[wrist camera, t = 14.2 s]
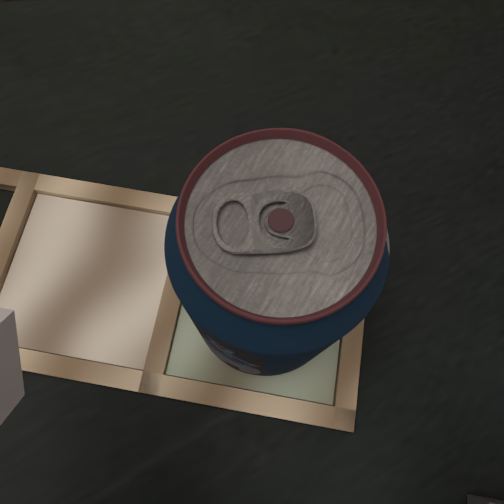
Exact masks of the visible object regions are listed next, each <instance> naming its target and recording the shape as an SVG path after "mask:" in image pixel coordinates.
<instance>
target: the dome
mask: <svg viewBox="0 0 504 504" xmlns="http://www.w3.org/2000/svg"><path fill="white" fill-rule="evenodd" d="M467 504H504V501H503V500H498V499H493V498H487V497H482V496H477V495H472V494H467Z"/></svg>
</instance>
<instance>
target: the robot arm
mask: <svg viewBox="0 0 504 504" xmlns="http://www.w3.org/2000/svg"><path fill="white" fill-rule="evenodd" d="M24 395H25V393H24V385H23V377H22V369H21V361H20V353H19V345H18V336H17V328H16V320H15V312H14V310H11V309H5V308H0V425H1V424H2V423H3V421H4V420H5V419H6V418H7V416H8V415H9V414H10V413H11V411H12V410H13V409H14V408H15V406H16V405H17V404H18V402H19V401H20V400H21V399H22V397H23V396H24Z"/></svg>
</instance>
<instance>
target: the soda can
mask: <svg viewBox="0 0 504 504" xmlns="http://www.w3.org/2000/svg"><path fill="white" fill-rule="evenodd" d="M164 253H165V263H166V268H167V272H168V276H169V279H170V282H171V284H172V287H173V289H174V291H175V293H176V295H177V297H178V299H179V300H180V302H181V304H182V305H183V307H184V309H185V310H186V312H187V313H188V315H189V317H190V318H191V320H192V322H193V323H194V325H195V326H196V328H197V330H198V331H199V333H200V335H201V336H202V338H203V339H204V341H205V343H206V344H207V346H208V347H209V348H210V350H211V351H212V352H213V353H214V354H215V355H216V356H217V357H218V358H219V359H220V360H222V361H223V362H224V363H226V364H227V365H229V366H230V367H232V368H234V369H236V370H239V371H241V372H244V373H247V374H252V375H258V376H273V375H280V374H284V373H288V372H290V371H293V370H295V369H297V368H299V367H301V366H303V365H304V364H306V363H307V362H309V361H310V360H311V359H313V358H314V357H316V356H317V355H318V354H320V353H321V352H323V351H324V350H325V349H327V348H328V347H330V346H331V345H332V344H334V343H335V342H337V341H338V340H339V339H341V338H342V337H343V336H345V335H346V334H348V333H349V332H350V331H351V330H353V329H354V328H355V327H356V326H357V325H358V324H359V323H360V322H361V321H362V320H363V319H364V318H365V317H366V316H367V314H368V313H369V312H370V310H371V309H372V308H373V306H374V304H375V303H376V301H377V299H378V297H379V295H380V293H381V291H382V288H383V286H384V283H385V280H386V276H387V271H388V266H389V254H390V249H389V237H388V232H387V220H386V213H385V208H384V204H383V201H382V198H381V195H380V193H379V190H378V188H377V186H376V184H375V182H374V181H373V179H372V177H371V176H370V175H369V173H368V172H367V170H366V169H365V168H364V167H363V165H362V164H361V163H360V162H359V161H358V160H357V159H356V158H355V157H354V156H352V155H351V154H350V153H349V152H348V151H346V150H345V149H343V148H342V147H341V146H339V145H337V144H336V143H334V142H332V141H331V140H329V139H327V138H325V137H322V136H320V135H317V134H315V133H312V132H308V131H305V130H299V129H292V128H269V129H261V130H256V131H251V132H247V133H244V134H241V135H239V136H236V137H234V138H231V139H229V140H227V141H226V142H224V143H222V144H221V145H219V146H217V147H216V148H215V149H213V150H212V151H211V152H209V153H208V154H207V155H206V156H205V157H204V158H203V159H202V160H201V161H200V162H199V163H198V164H197V166H196V167H195V168H194V169H193V171H192V172H191V174H190V175H189V177H188V179H187V180H186V182H185V184H184V186H183V189H182V191H181V192H180V194H179V196H178V197H177V199H176V201H175V203H174V205H173V207H172V210H171V212H170V215H169V219H168V222H167V226H166V232H165V241H164Z"/></svg>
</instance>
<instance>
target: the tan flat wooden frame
mask: <svg viewBox="0 0 504 504" xmlns="http://www.w3.org/2000/svg"><path fill="white" fill-rule="evenodd" d="M0 189H3V190H9V191H15V192H14V195H13V197H12V200H11V202H10V205H9V207H8V210H7V212H6V215H5V217H4V220H3V223H2V225H1V228H0V308H5V309H11V310H14V312H15V320H16V328H17V336H18V345H19V347H20V348H19V353H20V361H21V369H22V370H24V371H29V372H35V373H40V374H45V375H50V376H56V377H61V378H66V379H72V380H77V381H82V382H88V383H93V384H98V385H104V386H109V387H114V388H120V389H125V390H130V391H136V392H141V393H146V394H152V395H157V396H162V397H168V398H173V399H178V400H184V401H189V402H194V403H199V404H205V405H210V406H215V407H221V408H226V409H231V410H237V411H242V412H247V413H253V414H258V415H263V416H269V417H274V418H279V419H285V420H290V421H295V422H301V423H306V424H311V425H317V426H322V427H327V428H333V429H338V430H343V431H349V432H354V425H355V414H356V403H357V393H358V382H359V371H360V361H361V350H362V339H363V329H364V319H363V320H362V321H361V322H360V323H359V324H358V325H357V326H356V327H355V328H354V329H353V330H351V331H350V332H349V333H348V334H346V335H345V336H343V337H342V338H341V339H339V340H338V341H337V342H335V343H334V344H332V345H331V346H330V347H328V348H327V349H325V350H324V351H323V352H321V353H320V354H318V355H317V356H316V357H314V358H313V359H311V360H310V361H309V362H307V363H306V364H304V365H303V366H301V367H299V368H297V369H295V370H293V371H290V372H288V373H284V374H280V375H273V376H258V375H252V374H247V373H244V372H241V371H239V370H236V369H234V368H232V367H230V366H229V365H227V364H226V363H224V362H223V361H222V360H220V359H219V358H218V357H217V356H216V355H215V354H214V353H213V352H212V351H211V350H210V348H209V347H208V346H207V344H206V343H205V341H204V339H203V338H202V336H201V335H200V333H199V331H198V330H197V328H196V326H195V325H194V323H193V322H192V320H191V318H190V317H189V315H188V313H187V312H186V310H185V309H184V307H183V305H182V304H181V302H180V300H179V299H178V297H177V295H176V293H175V291H174V289H173V287H172V284H171V282H170V279H169V276H168V272H167V268H166V263H165V253H164V241H165V232H166V226H167V222H168V219H169V215H170V212H171V210H172V207H173V205H174V203H175V201H176V199H177V197H175V196H169V195H163V194H157V193H151V192H145V191H139V190H133V189H127V188H121V187H115V186H109V185H103V184H97V183H91V182H85V181H79V180H73V179H68V178H62V177H56V176H50V175H44V174H38V173H32V172H26V171H20V170H14V169H8V168H2V167H0ZM23 348H25V349H23ZM28 349H31V350H28ZM33 350H36V351H33ZM39 351H41V352H39ZM44 352H47V353H44ZM50 353H52V354H50ZM55 354H58V355H55ZM60 355H63V356H60ZM66 356H68V357H66ZM71 357H74V358H71ZM76 358H79V359H76ZM82 359H85V360H82ZM87 360H90V361H87ZM93 361H95V362H93ZM98 362H101V363H98ZM103 363H106V364H103ZM109 364H111V365H109ZM114 365H117V366H114ZM120 366H122V367H120ZM125 367H128V368H125ZM130 368H133V369H130ZM136 369H138V370H136ZM141 370H143V371H141ZM168 375H171V376H168ZM173 376H176V377H173ZM179 377H181V378H179ZM184 378H187V379H184ZM190 379H192V380H190ZM195 380H198V381H195ZM200 381H203V382H200ZM206 382H208V383H206ZM211 383H214V384H211ZM216 384H219V385H216ZM222 385H225V386H222ZM227 386H230V387H227ZM233 387H235V388H233ZM238 388H241V389H238ZM243 389H246V390H243ZM249 390H251V391H249ZM254 391H257V392H254ZM259 392H262V393H259ZM265 393H268V394H265ZM270 394H273V395H270ZM276 395H278V396H276ZM281 396H284V397H281ZM286 397H289V398H286ZM292 398H295V399H292ZM297 399H300V400H297ZM303 400H305V401H303ZM308 401H311V402H308ZM313 402H316V403H313ZM319 403H321V404H319ZM324 404H327V405H324ZM329 405H332V406H329Z"/></svg>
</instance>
